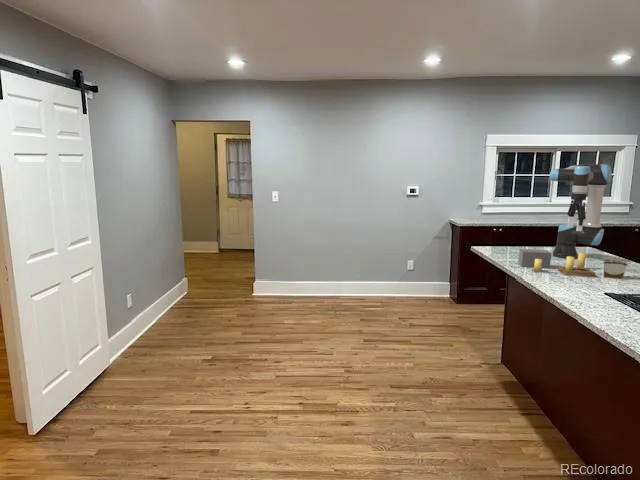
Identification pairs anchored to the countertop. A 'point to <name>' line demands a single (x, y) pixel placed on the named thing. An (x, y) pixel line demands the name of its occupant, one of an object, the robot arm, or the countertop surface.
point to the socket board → (577, 272)
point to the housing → (529, 257)
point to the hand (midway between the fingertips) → (574, 229)
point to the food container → (614, 268)
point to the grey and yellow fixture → (538, 267)
